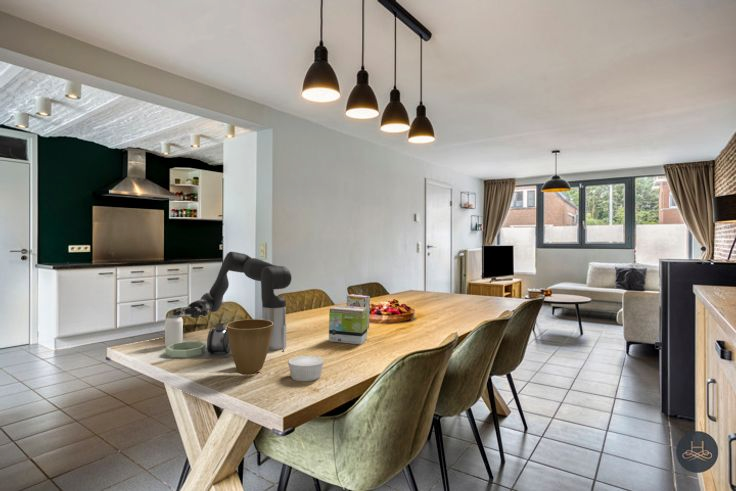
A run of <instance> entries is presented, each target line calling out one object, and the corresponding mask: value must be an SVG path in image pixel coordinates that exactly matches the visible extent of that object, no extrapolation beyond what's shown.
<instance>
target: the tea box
mask: <svg viewBox="0 0 736 491" xmlns="http://www.w3.org/2000/svg"><path fill="white" fill-rule="evenodd" d="M367 315H368V308H367V307H353V306H347V305H338V304H337V305H335V306H333V307H331V308H329V321H328V322H329V323H328V342H330V343H331V342H332V343H333V342H334V343H343V344H353V345H358V346H359V345H360V346H361V345H363V343H365V342H366V340H367V338H368V329H367Z"/></svg>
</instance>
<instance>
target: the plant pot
mask: <svg viewBox="0 0 736 491" xmlns="http://www.w3.org/2000/svg"><path fill="white" fill-rule="evenodd" d="M226 329H227V333H228V339H229V345H230V349H231V356H232V359H233V360H232V361H233V362H234V365H235V367H236V370H237V372H238V374H239V375H244V376H246V375H247V376H248V375H249V376H251V375H257V374H258V373H260V371H261V370H262V369H263V367H264V365H265V362H266V358H267V355H268V352H269V350H268V349H269V345H270V340H271V335H272V329H273V322H271V321H268V320H262V318H259V319H258V318H250V319H249V318H248V319H240V320H239V319H238V320H233V321H230V322H228V323H226Z"/></svg>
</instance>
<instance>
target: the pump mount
mask: <svg viewBox="0 0 736 491" xmlns="http://www.w3.org/2000/svg"><path fill="white" fill-rule="evenodd" d="M230 355H232V353H231V351H230V352H229V353H225V352H213V353H209V352H208V350H207V343H205V342H203V341H198V340H197V341H189V340H188V341H187V340H186V341H183V342H180V343H174V344H171V345H169V346H168V347H166V346H165V353H164V354H162V355H161V356H159V357H158V359H227V358H228V357H229V356H230Z"/></svg>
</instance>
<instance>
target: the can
mask: <svg viewBox="0 0 736 491" xmlns="http://www.w3.org/2000/svg"><path fill="white" fill-rule="evenodd" d="M164 321H165V322H164V346H165V348H166V347H168V346H169V345H171V344H174V343H180V342H184V340H183V336H184V335H183V334H184V331H183V330H184V328H183V327H184V326H183V325H184V320H183V316H180V315H173V314H172V315H168V316H166V318H165V320H164Z"/></svg>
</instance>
